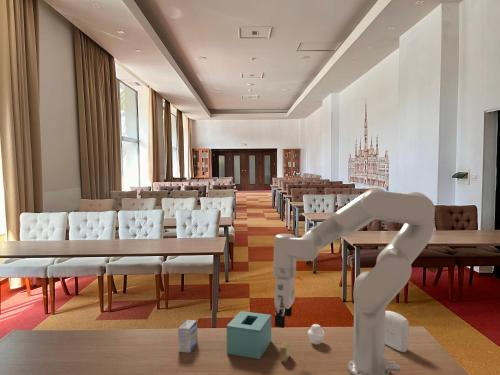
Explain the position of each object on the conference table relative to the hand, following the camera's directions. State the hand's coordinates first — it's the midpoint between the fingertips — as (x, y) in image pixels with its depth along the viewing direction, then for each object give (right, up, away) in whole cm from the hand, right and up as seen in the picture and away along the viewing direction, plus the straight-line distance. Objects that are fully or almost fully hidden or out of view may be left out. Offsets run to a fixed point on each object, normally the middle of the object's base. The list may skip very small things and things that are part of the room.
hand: (283, 321), depth 134 cm
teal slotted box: (-11, -12, +9) cm, 19 cm away
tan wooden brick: (+1, -13, +1) cm, 13 cm away
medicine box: (-33, -13, +9) cm, 37 cm away
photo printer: (+41, -12, +9) cm, 43 cm away
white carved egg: (+13, -12, +12) cm, 22 cm away
